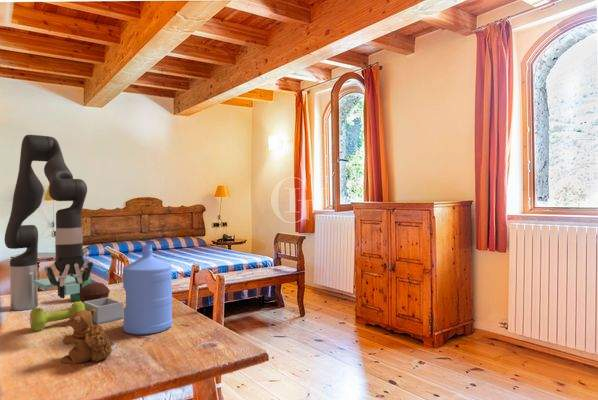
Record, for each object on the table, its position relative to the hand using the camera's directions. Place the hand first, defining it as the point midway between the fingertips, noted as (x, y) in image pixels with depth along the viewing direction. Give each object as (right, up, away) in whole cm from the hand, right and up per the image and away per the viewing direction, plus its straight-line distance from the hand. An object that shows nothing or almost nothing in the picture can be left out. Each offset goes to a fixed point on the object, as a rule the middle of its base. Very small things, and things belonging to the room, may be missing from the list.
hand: (70, 296), depth 131 cm
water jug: (+21, -13, +9) cm, 27 cm away
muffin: (-9, -13, +35) cm, 39 cm away
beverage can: (-22, -13, +49) cm, 56 cm away
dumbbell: (-11, -14, +13) cm, 22 cm away
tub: (+1, -13, +21) cm, 25 cm away
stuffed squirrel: (+15, -13, -17) cm, 26 cm away
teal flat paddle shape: (-5, +1, +5) cm, 7 cm away
